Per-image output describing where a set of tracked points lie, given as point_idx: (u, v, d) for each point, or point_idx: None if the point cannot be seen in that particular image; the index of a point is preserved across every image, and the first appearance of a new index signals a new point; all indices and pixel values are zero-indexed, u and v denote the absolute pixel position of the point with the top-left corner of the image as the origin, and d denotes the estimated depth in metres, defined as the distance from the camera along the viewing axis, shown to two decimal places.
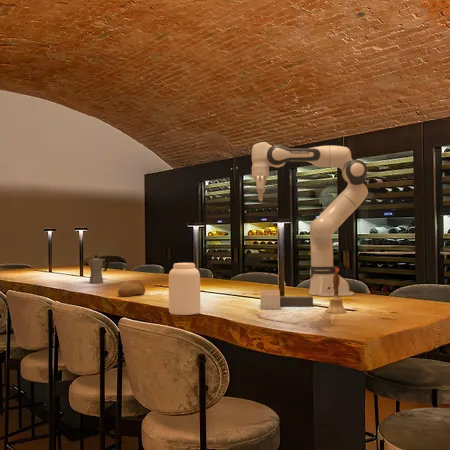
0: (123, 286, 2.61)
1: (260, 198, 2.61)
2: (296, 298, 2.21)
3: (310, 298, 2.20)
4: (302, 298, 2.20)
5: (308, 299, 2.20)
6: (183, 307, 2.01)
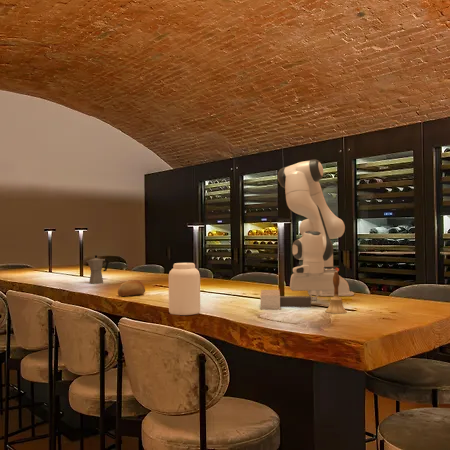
0: (123, 286, 2.61)
1: None
2: (294, 298, 2.21)
3: (308, 298, 2.20)
4: (300, 298, 2.20)
5: (306, 299, 2.20)
6: (183, 307, 2.01)
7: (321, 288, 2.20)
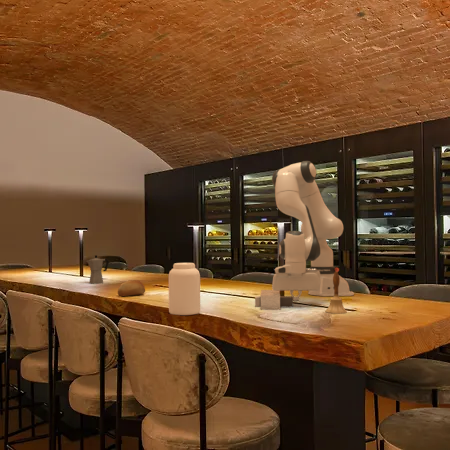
0: (123, 286, 2.61)
1: None
2: None
3: (290, 298, 2.21)
4: (282, 298, 2.21)
5: (288, 299, 2.21)
6: (183, 307, 2.01)
7: (303, 288, 2.20)
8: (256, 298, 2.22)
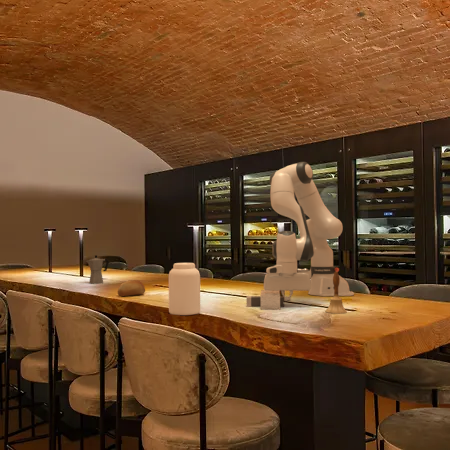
0: (123, 286, 2.61)
1: None
2: None
3: (281, 298, 2.21)
4: None
5: None
6: (183, 307, 2.01)
7: (294, 288, 2.21)
8: (247, 298, 2.22)
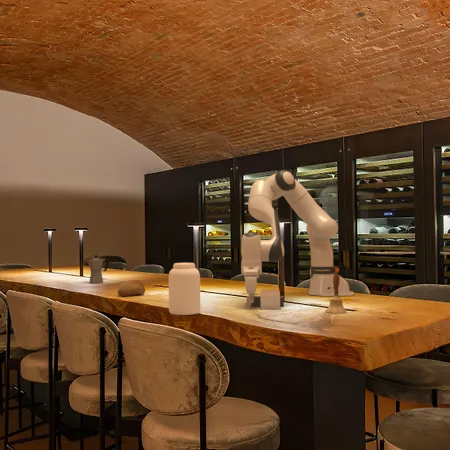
0: (123, 286, 2.62)
1: None
2: None
3: (281, 298, 2.21)
4: None
5: None
6: (183, 307, 2.01)
7: None
8: (247, 298, 2.22)
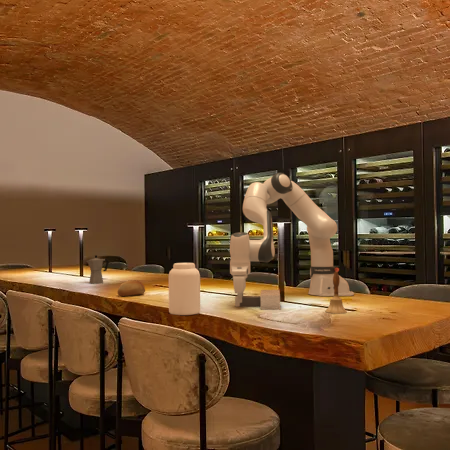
0: (123, 286, 2.62)
1: None
2: (256, 298, 2.22)
3: None
4: None
5: None
6: (183, 307, 2.01)
7: None
8: (236, 298, 2.23)
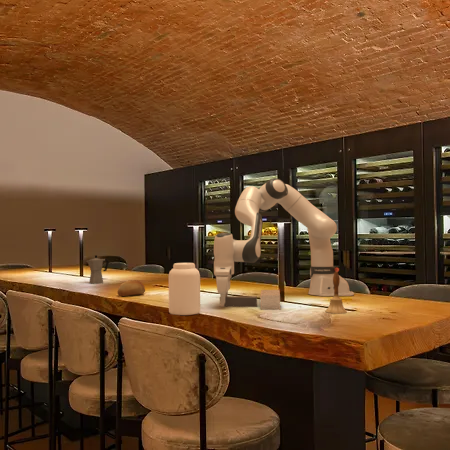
0: (123, 286, 2.62)
1: None
2: (240, 298, 2.23)
3: (254, 298, 2.22)
4: (246, 298, 2.23)
5: (252, 299, 2.22)
6: (183, 307, 2.01)
7: None
8: (220, 298, 2.23)
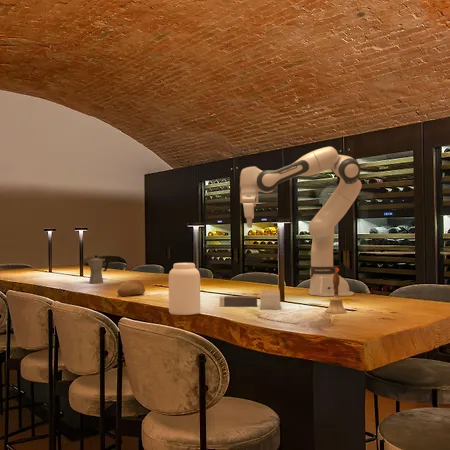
0: (123, 286, 2.62)
1: None
2: (240, 298, 2.23)
3: (254, 298, 2.22)
4: (246, 298, 2.23)
5: (252, 299, 2.22)
6: (183, 307, 2.01)
7: (253, 216, 2.58)
8: (220, 298, 2.23)
